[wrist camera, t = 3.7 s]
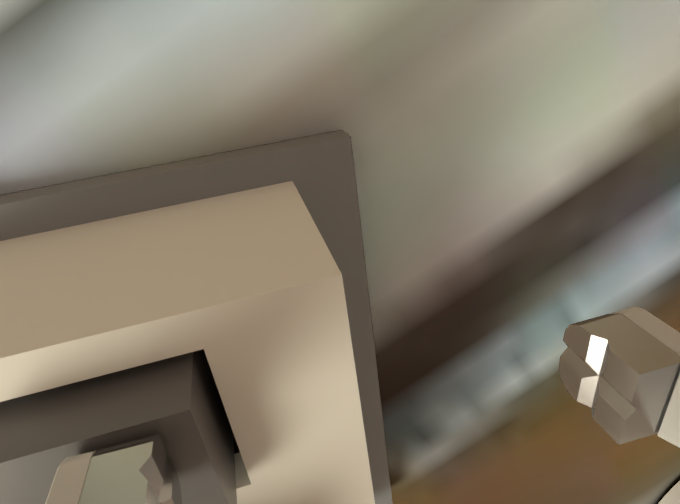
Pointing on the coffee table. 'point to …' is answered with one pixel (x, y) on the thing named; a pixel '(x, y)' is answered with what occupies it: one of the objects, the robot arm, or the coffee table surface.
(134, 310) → the switch unit
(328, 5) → the coffee table surface
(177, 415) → the switch
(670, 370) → the robot arm
